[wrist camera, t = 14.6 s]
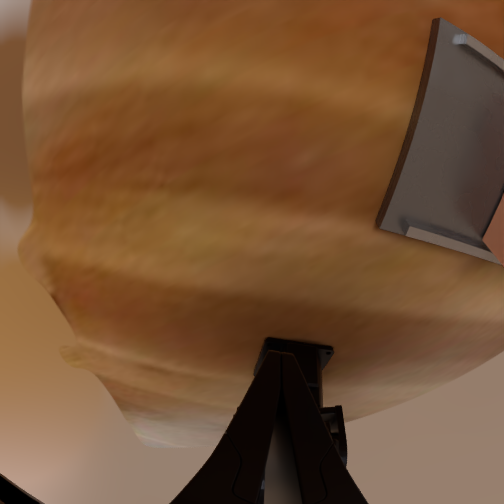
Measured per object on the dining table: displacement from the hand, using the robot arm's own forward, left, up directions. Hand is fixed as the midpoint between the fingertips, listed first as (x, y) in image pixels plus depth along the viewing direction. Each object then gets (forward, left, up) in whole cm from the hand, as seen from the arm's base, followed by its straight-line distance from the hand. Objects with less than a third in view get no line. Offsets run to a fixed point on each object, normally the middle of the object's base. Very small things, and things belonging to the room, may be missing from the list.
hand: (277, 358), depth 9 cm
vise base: (+8, -17, -11) cm, 21 cm away
